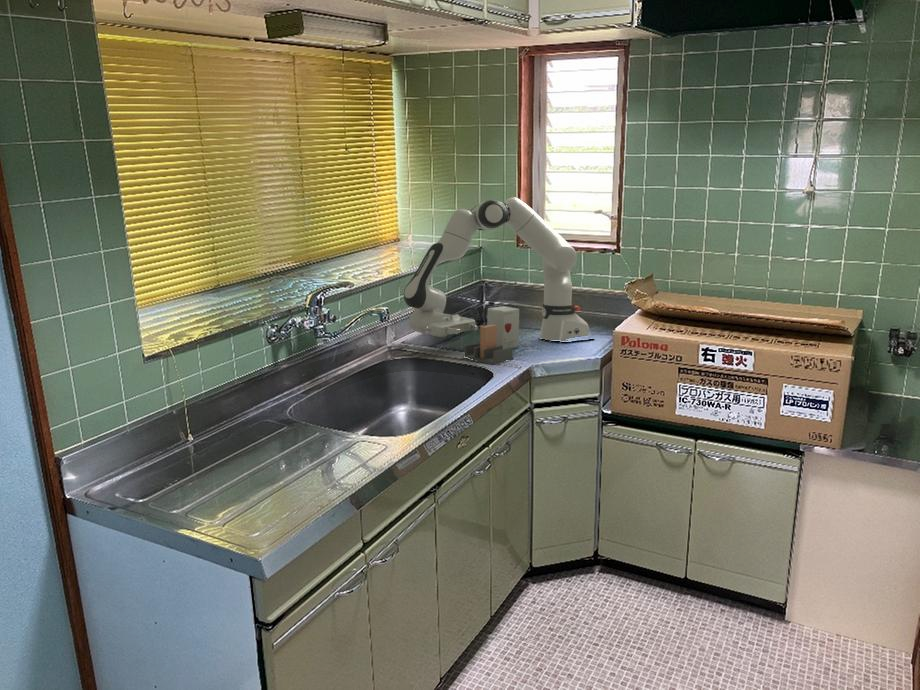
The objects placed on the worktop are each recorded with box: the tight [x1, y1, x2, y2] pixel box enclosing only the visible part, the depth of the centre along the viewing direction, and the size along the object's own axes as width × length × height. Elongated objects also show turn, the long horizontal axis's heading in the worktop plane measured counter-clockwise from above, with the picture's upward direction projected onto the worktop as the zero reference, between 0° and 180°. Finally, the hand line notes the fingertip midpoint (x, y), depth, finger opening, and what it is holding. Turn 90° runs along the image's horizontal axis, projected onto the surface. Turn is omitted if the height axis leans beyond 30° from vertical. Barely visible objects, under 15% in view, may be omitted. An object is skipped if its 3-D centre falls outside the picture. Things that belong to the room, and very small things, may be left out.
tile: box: [479, 324, 497, 358], centre depth 263 cm, size 6×2×11 cm, turn 137°
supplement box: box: [486, 306, 520, 349], centre depth 283 cm, size 9×9×15 cm
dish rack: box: [463, 342, 514, 366], centre depth 264 cm, size 11×14×4 cm
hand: (467, 330), depth 269 cm, fingers open, 8 cm apart
